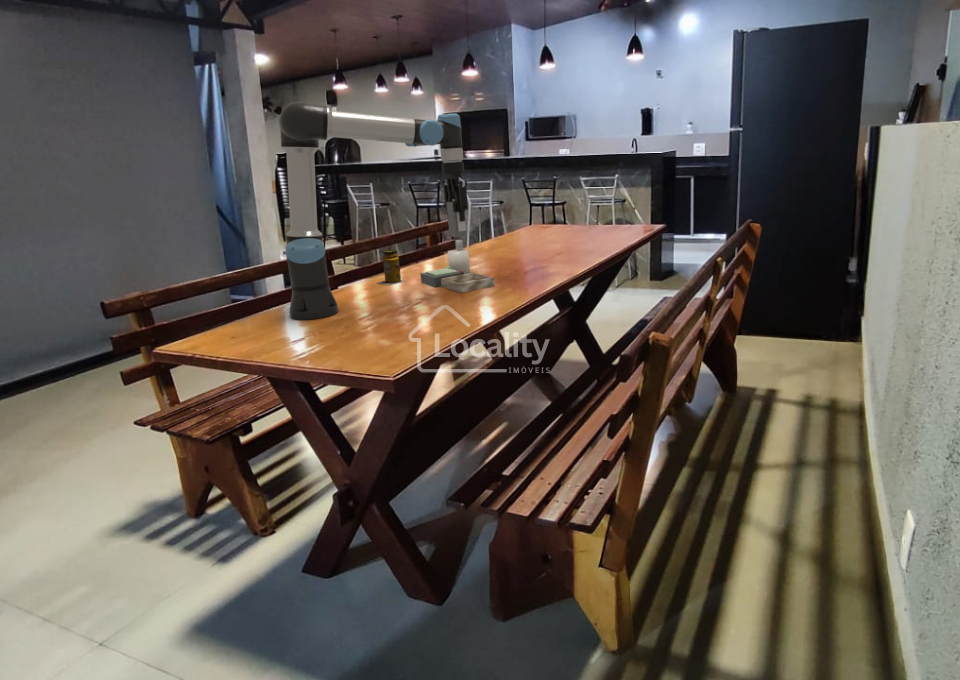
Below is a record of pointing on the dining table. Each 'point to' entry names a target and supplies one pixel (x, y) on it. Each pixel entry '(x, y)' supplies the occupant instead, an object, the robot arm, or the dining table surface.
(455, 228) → the cell
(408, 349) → the dining table surface
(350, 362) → the dining table surface
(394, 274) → the condiment
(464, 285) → the trough
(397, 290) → the dining table surface
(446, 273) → the checker pad
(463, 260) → the white bottle
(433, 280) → the checker base
